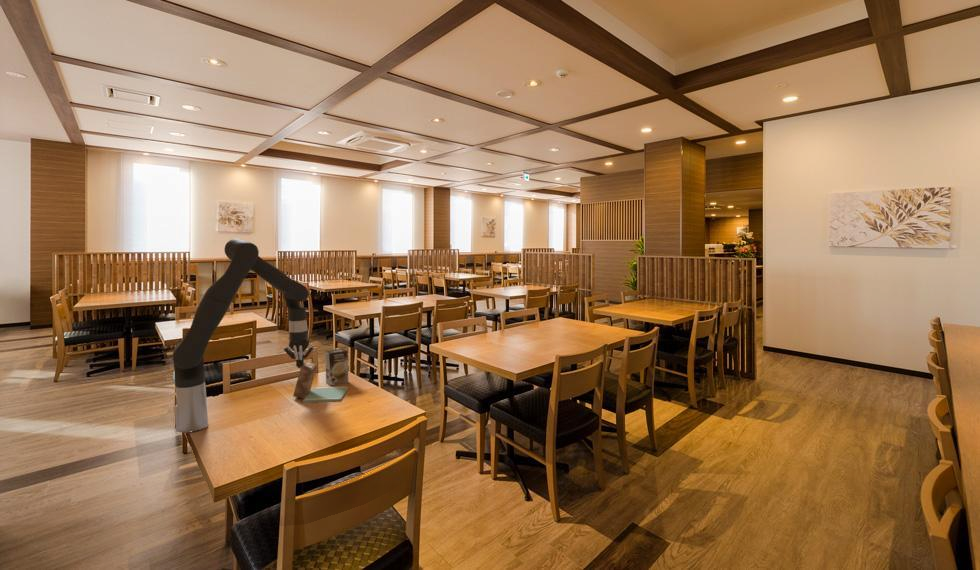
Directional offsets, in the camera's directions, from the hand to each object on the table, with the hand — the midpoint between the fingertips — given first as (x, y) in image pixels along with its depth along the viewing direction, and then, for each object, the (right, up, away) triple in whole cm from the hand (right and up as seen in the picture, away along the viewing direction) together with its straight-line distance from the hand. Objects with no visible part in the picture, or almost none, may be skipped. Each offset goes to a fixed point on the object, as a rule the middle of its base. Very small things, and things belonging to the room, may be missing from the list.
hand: (300, 367), depth 196 cm
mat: (+11, -13, +3) cm, 17 cm away
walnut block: (0, -12, +1) cm, 13 cm away
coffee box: (+10, -11, +20) cm, 25 cm away
